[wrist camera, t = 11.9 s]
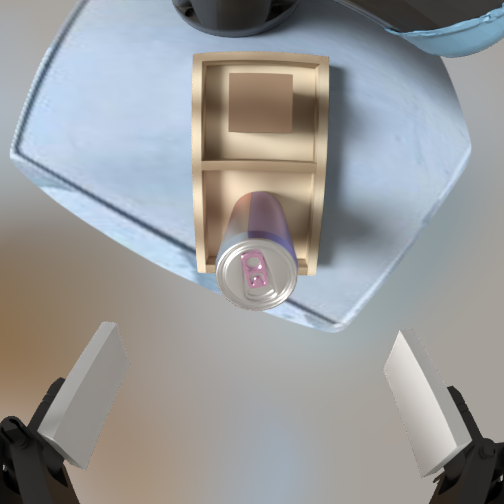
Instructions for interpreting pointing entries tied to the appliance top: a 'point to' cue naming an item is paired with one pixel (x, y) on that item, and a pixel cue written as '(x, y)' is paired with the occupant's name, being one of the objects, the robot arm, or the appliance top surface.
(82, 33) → the appliance top surface
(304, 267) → the rack
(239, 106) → the walnut block
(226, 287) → the beverage can
